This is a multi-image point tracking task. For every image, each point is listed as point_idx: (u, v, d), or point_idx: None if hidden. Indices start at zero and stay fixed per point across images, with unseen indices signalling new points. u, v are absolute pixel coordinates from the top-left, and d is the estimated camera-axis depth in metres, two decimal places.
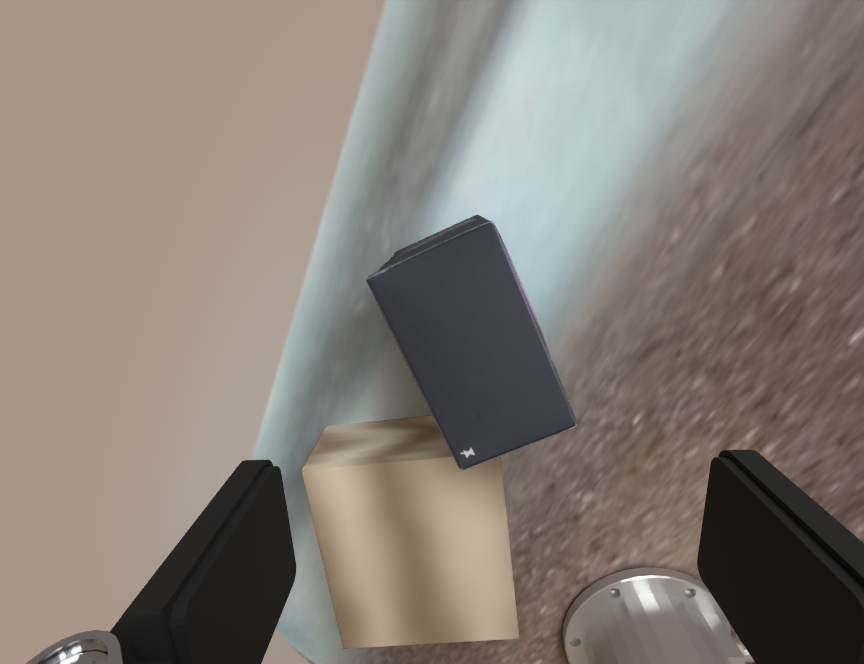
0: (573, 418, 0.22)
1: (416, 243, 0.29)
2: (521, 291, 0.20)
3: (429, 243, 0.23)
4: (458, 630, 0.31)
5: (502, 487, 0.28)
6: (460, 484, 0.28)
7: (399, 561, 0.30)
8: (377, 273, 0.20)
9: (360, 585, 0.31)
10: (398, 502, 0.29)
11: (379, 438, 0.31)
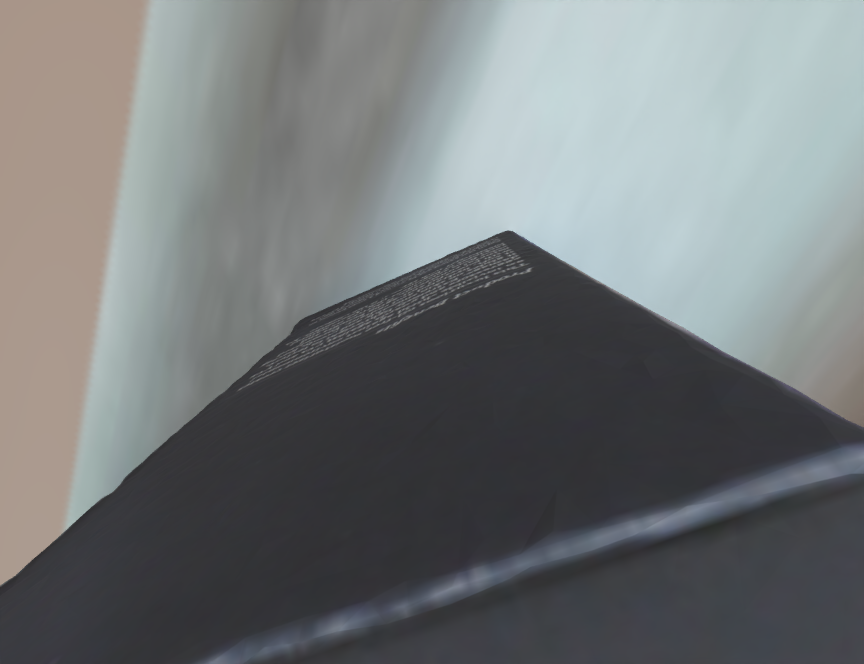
0: None
1: (347, 304, 0.11)
2: None
3: (320, 398, 0.05)
4: None
5: None
6: None
7: None
8: None
9: None
10: None
11: None
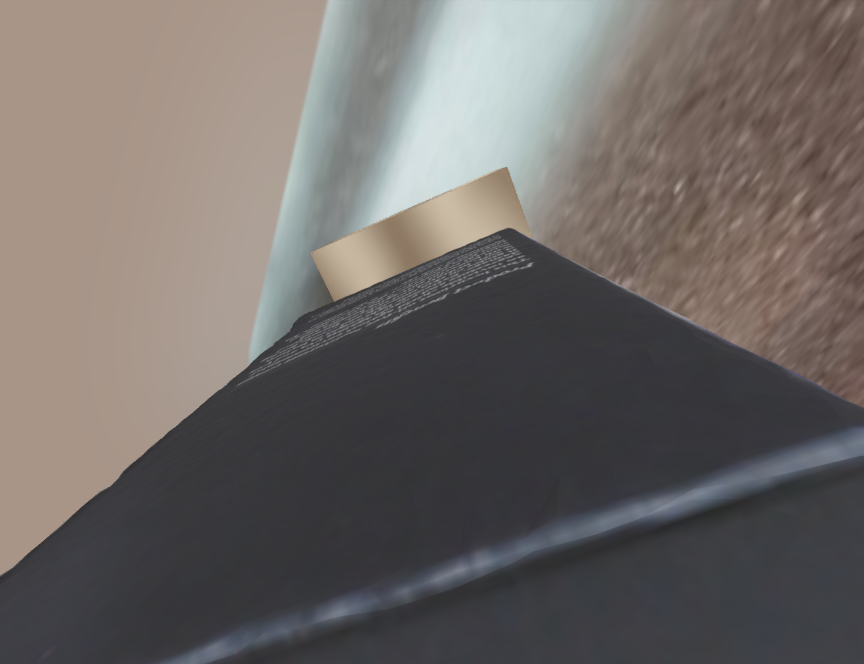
0: None
1: (347, 301, 0.11)
2: None
3: (320, 391, 0.05)
4: None
5: (520, 209, 0.26)
6: (476, 218, 0.26)
7: None
8: None
9: None
10: (417, 260, 0.27)
11: (384, 219, 0.29)
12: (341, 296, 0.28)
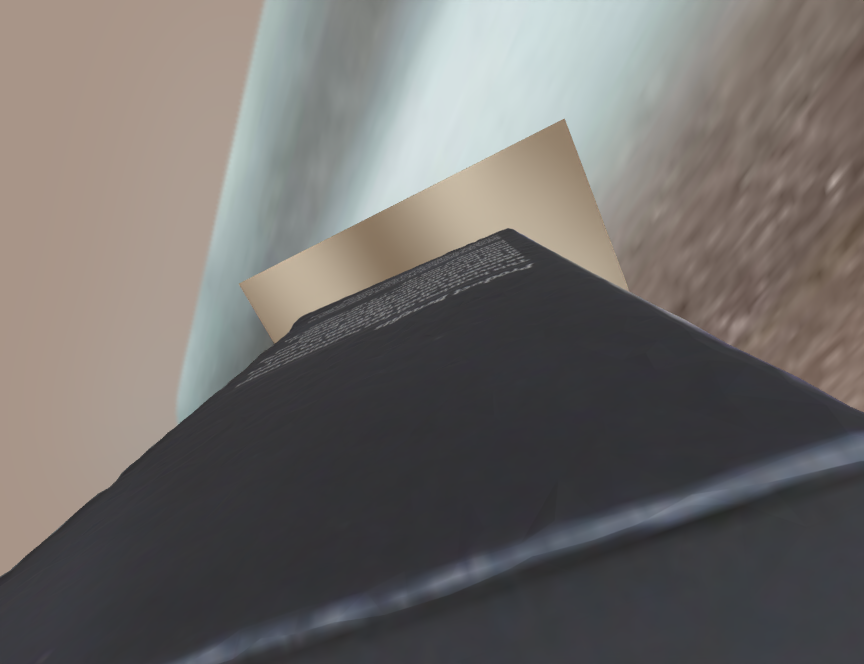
0: None
1: (346, 301, 0.11)
2: None
3: (319, 392, 0.05)
4: None
5: (589, 191, 0.15)
6: (512, 212, 0.15)
7: None
8: None
9: None
10: None
11: None
12: None
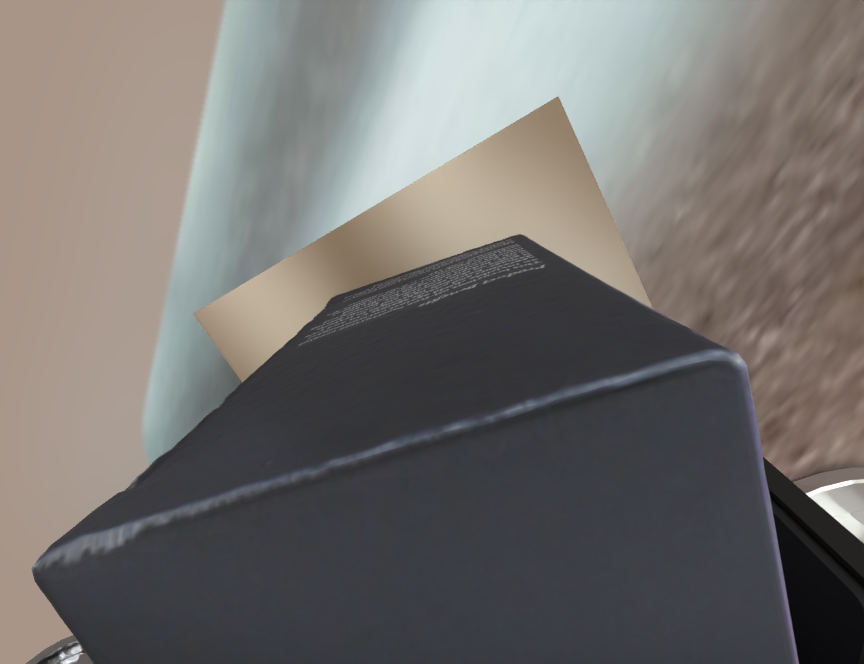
0: None
1: (376, 286, 0.13)
2: None
3: (389, 345, 0.06)
4: None
5: (593, 181, 0.13)
6: (503, 211, 0.13)
7: None
8: (86, 544, 0.04)
9: None
10: None
11: None
12: None
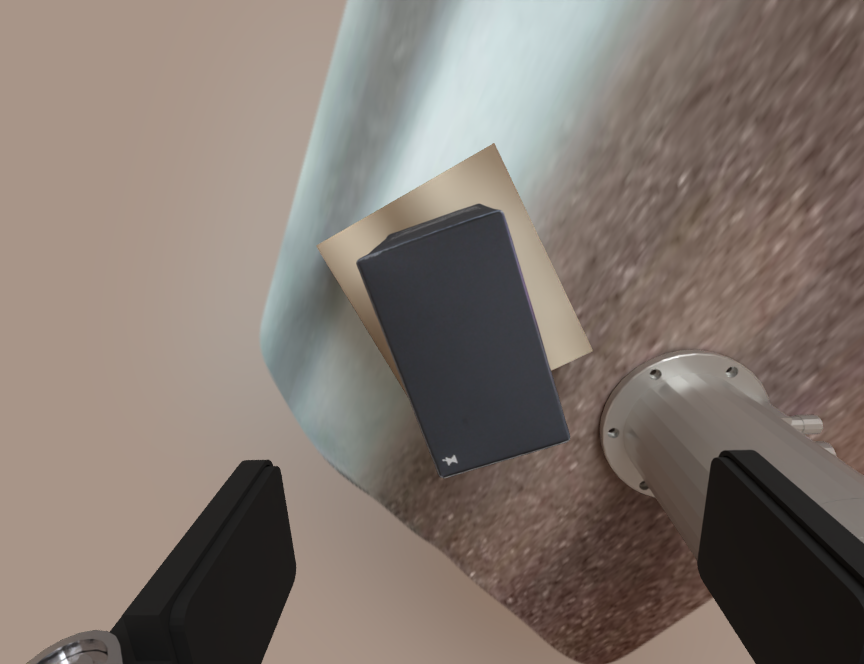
0: (567, 432, 0.20)
1: (411, 227, 0.27)
2: (525, 290, 0.18)
3: (428, 228, 0.21)
4: None
5: (511, 182, 0.27)
6: (469, 196, 0.27)
7: None
8: (369, 256, 0.18)
9: None
10: None
11: None
12: (349, 284, 0.29)
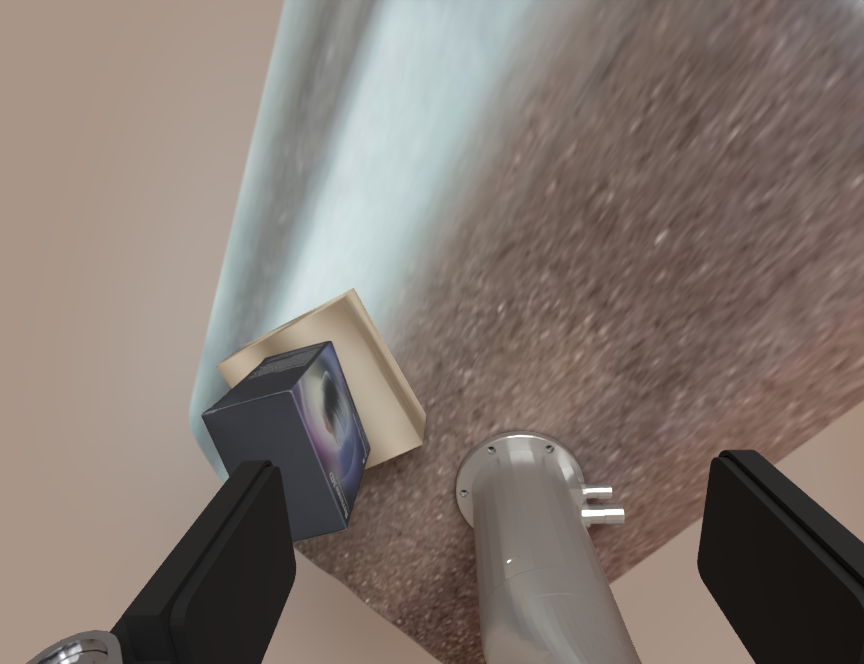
0: (344, 524, 0.30)
1: (279, 356, 0.37)
2: (310, 437, 0.29)
3: (262, 383, 0.31)
4: (377, 453, 0.41)
5: (353, 328, 0.37)
6: (324, 336, 0.38)
7: None
8: (209, 412, 0.28)
9: None
10: None
11: (273, 332, 0.41)
12: None
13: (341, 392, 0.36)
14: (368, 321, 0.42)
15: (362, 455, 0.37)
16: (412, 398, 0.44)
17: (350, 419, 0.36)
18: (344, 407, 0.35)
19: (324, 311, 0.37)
